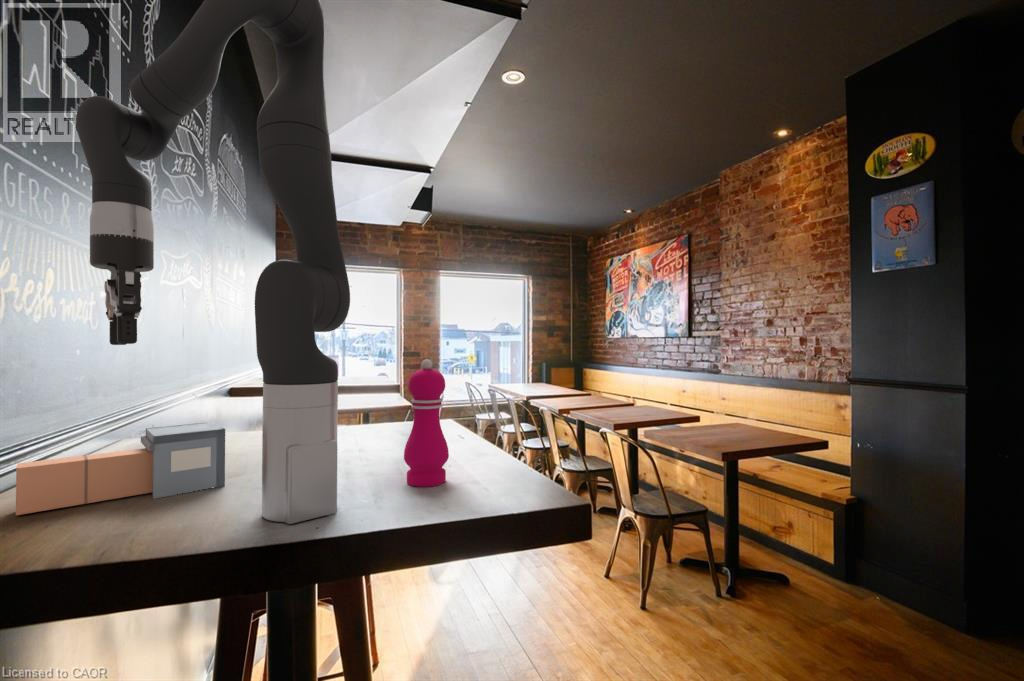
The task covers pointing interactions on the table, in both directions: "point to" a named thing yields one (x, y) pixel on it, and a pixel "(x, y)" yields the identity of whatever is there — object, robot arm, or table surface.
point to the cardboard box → (82, 480)
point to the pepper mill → (426, 429)
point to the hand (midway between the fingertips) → (122, 344)
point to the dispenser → (186, 457)
